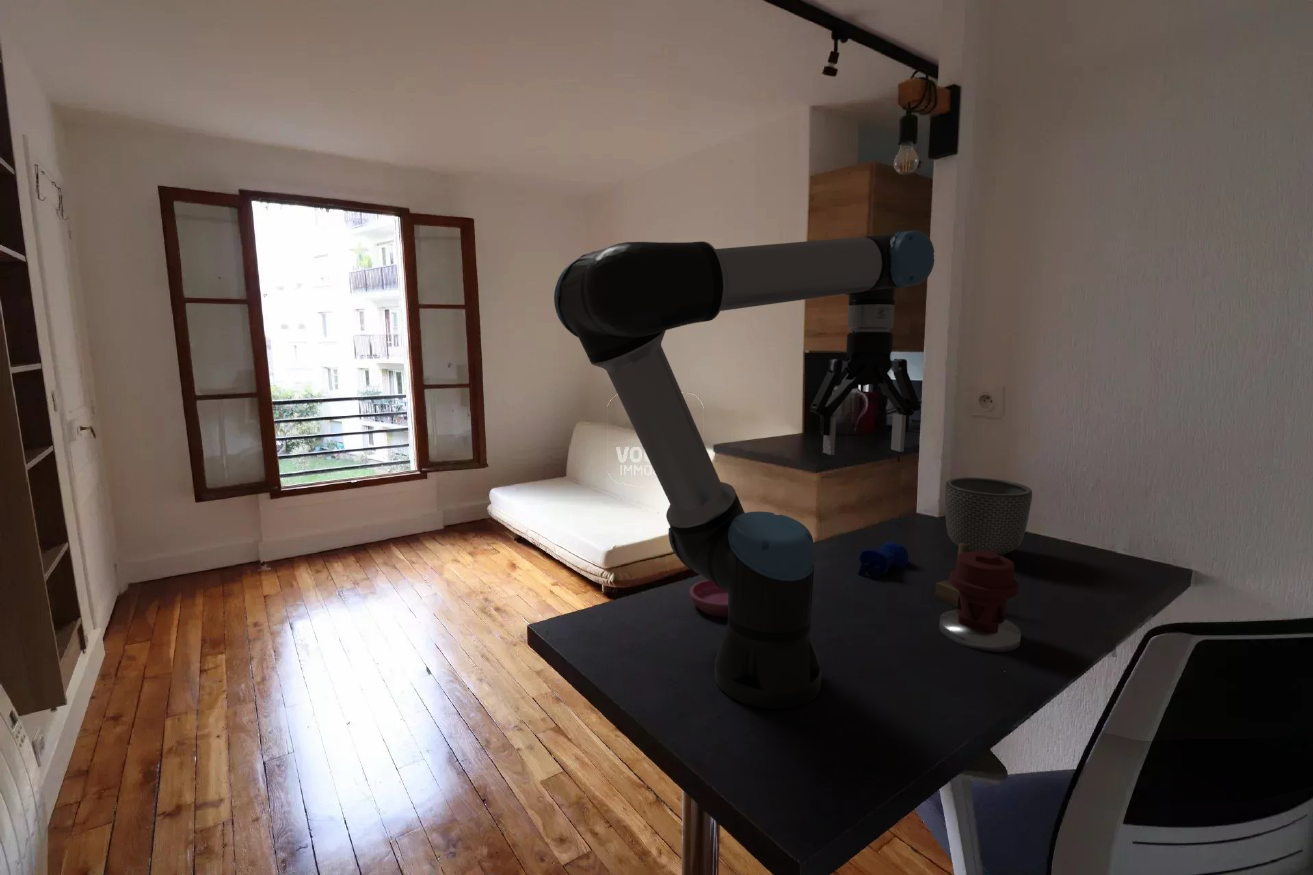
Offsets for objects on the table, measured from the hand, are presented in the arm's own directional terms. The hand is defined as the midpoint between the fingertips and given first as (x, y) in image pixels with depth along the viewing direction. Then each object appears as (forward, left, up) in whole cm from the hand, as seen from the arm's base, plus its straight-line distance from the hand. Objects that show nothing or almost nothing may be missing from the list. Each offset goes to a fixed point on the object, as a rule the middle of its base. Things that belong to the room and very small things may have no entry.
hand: (863, 452), depth 109 cm
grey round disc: (+14, -15, -29) cm, 35 cm away
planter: (+43, +18, -29) cm, 55 cm away
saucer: (-24, +5, -29) cm, 38 cm away
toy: (+16, +15, -29) cm, 36 cm away
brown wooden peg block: (+20, -3, -29) cm, 35 cm away
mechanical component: (+14, -15, -27) cm, 34 cm away
